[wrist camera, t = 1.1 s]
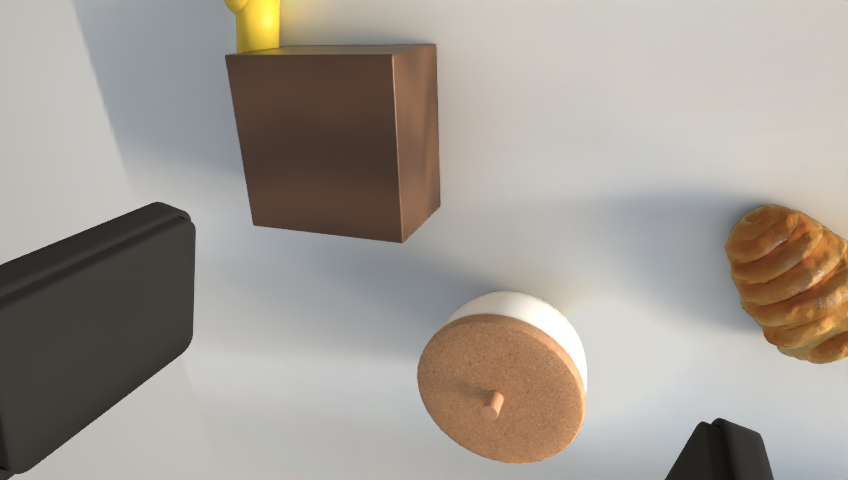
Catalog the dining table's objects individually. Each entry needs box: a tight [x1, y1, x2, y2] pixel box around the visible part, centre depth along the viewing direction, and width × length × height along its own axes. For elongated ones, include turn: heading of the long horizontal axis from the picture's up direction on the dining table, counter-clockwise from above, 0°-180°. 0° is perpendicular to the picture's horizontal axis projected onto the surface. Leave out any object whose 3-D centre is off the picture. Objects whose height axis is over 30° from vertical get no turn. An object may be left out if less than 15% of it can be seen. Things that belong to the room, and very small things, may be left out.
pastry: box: [725, 205, 848, 364], centre depth 32 cm, size 9×7×4 cm
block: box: [225, 44, 440, 243], centre depth 37 cm, size 11×11×7 cm
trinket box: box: [417, 291, 587, 463], centre depth 38 cm, size 11×11×9 cm
